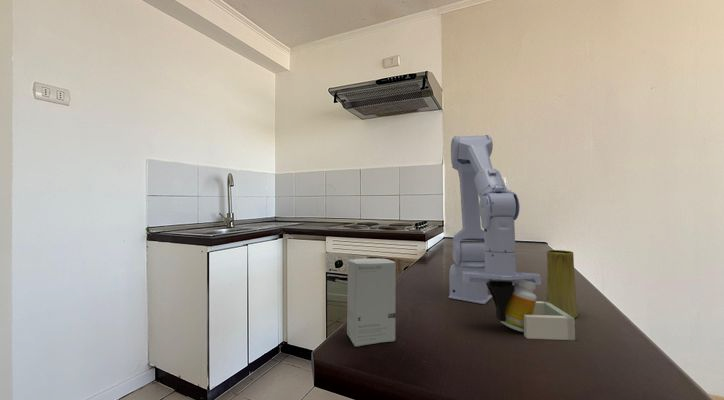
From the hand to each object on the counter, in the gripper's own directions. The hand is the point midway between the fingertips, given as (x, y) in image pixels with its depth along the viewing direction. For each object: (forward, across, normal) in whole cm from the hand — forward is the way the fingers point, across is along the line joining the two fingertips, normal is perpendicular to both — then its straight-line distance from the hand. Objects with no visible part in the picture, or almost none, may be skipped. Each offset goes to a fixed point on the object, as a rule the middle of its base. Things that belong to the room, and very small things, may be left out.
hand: (501, 319), depth 60 cm
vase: (+2, +16, +11) cm, 20 cm away
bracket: (+2, +8, +2) cm, 8 cm away
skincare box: (+3, -26, -6) cm, 27 cm away
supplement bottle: (+2, +2, +1) cm, 3 cm away
